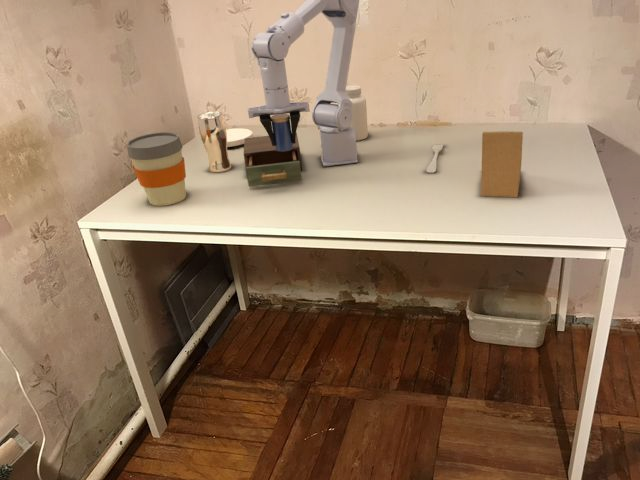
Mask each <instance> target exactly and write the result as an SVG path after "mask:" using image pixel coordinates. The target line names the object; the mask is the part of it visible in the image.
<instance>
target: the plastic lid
mask: <svg viewBox="0 0 640 480" xmlns="http://www.w3.org/2000/svg"><path fill="white" fill-rule="evenodd" d="M226 132H227V148H230V147H236V146H240V145H244V142H245V138H252V137H254V132H253V131H252V129H248V128H241V127H240V128H239V127H238V128H228V129H227V128H226Z"/></svg>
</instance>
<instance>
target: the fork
mask: <svg viewBox="0 0 640 480" xmlns="http://www.w3.org/2000/svg"><path fill="white" fill-rule="evenodd" d="M443 148H444V144H432V147H431V149H432V151H434V155H433V157H432V160H431V161H430V163H429V164H428V166H427V167H426V173H427V174H435V172H436V171H437V169H438V165H437V163H438V162H437V161H438V155H439V152H441V151H442V150H443Z"/></svg>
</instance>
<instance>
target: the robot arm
mask: <svg viewBox="0 0 640 480" xmlns="http://www.w3.org/2000/svg"><path fill="white" fill-rule="evenodd" d="M359 6H360V0H305V1H304V2H303V4H301V5H300V6H299V8H298V9H297V10H295V12H291V11H290V12H289V11H288V12H282V13H281V14H280V18H279V19H278V20H277V21H276V22H275V23H274V24H272V25H269V26H268V29H267V30H266V31H265V32H262V31H261V32H258V33H257V34H256V35H255V37H254V38H253V41H252V46H251V52H252V54H253V56H254V57H255V59H256V60H257V65H258V66H259V69H260V76H261V82H262V88H263V94H264V101H265V105H261V106H260V105H259V106H254V107H248V108H247V113H248V118H249V119H254V118H258V117H259V122H260V123H261V125H262V126H263V128H264V130H265V132H266V133H267V136H269V137H270V140H271V143H272V146H275V141H274V135H273V128H272V122H271V116H273V115H277V114H289V115H290V126H291V133H292V142H293V144H294V143H296V142H295V138H296V132H297V131H298V130H297V129H298V126H299V122H300V120H301V113H304V112H305V113H310V112H311V118H312V122H313V123H314V124H315V125H316V126H317V130H319V135H320V143H321V153H322V155H320V160H321V164H322V166H323V167H331V166H341V165H349V164H356V163H358V162H359V160H358V148H357V141H356V136H355V130H354V127H349V126H350V124H351V121H352V101H351V100H350V99H349V98H348V97H347V95H346V94H345V91H346V86H348V85H347V84H348V77H349V71H350V64H351V60H352V59H351V58H352V51H353V46H354V40H355V34H356V33H355V32H356V27H357V18H358V12H359ZM319 14H322V15H323V16H324V17H325V18H326V19H327V21H329V22H330V23H331V24H332V26H333V34H332V39H331V45H330V51H329V52H330V53H329V59H328V66H327V72H326V80H325V86H324V90H323V91H321V92H320V93H319V94H318V95H317V96H316V102H315V104H314V106H313V107H312V111H310V109H311V108H310V102H309V101H303V102H300V101H299V102H296V101H295V102H291V99H290V92H289V84H288V77H287V70H286V62H285V59H286V58H287V56H288V54H289V50H290V48H291V46H292V45H293V44H294V43H295V42H296V41H297V40H298V39H299V38H300V37H301V36H302V35H303V34H304V33H305V26H306V25H307V24H308V23H309V22H311V21H312V20H313V19H315V18H316V17H317V16H318V15H319Z"/></svg>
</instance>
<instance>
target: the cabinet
mask: <svg viewBox="0 0 640 480" xmlns="http://www.w3.org/2000/svg"><path fill="white" fill-rule="evenodd" d="M295 142H296V143H294V144H293V149H292V150H289V151H294V150H295V154H296V160H297V161H300V168H301V172H303V164H302V155H301V150H300V149H301V147H300V142H299V138H298V133H297V131H296V138H295ZM277 152H281V151H276V148H275V146H272V143H271V140H270V137H269V135H263V136H262V135H261V136H253V137H252V138H245V142H244V144H243V159H244V165H245V168H246V167H249V156H252V155H260V154H269V153H277ZM283 152H286V151H283Z"/></svg>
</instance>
